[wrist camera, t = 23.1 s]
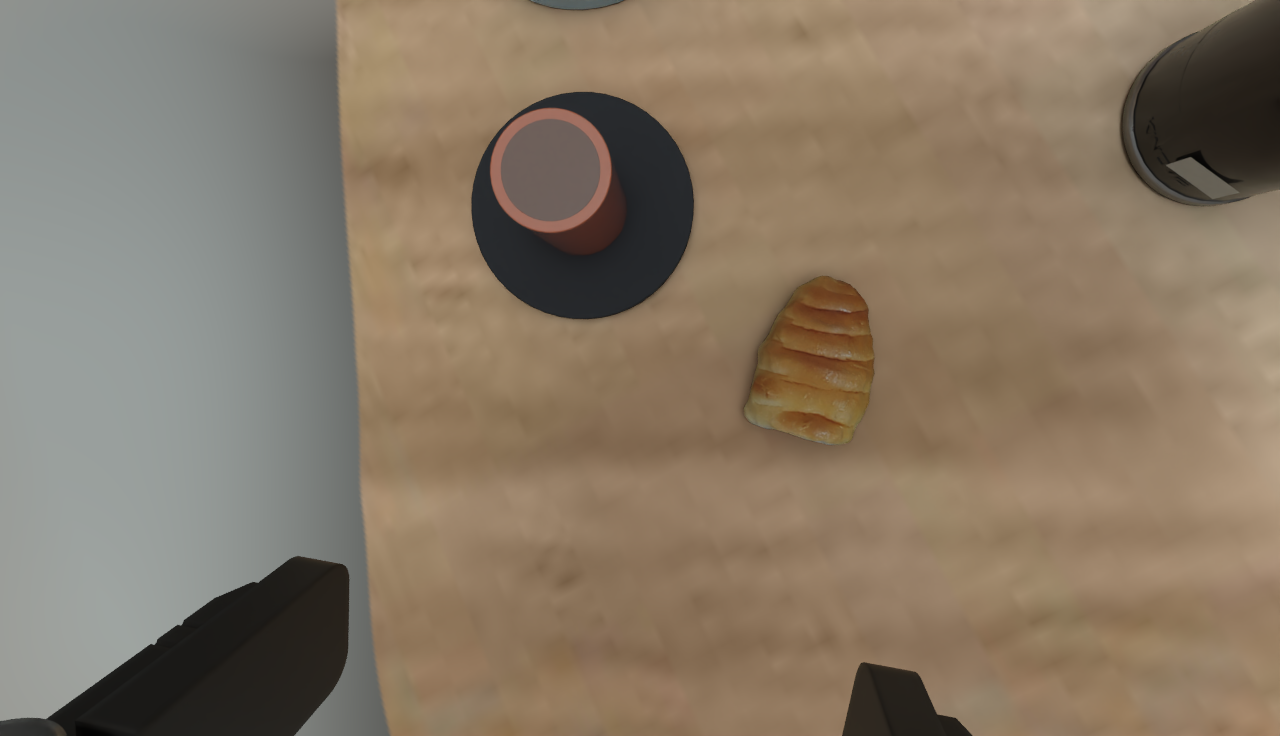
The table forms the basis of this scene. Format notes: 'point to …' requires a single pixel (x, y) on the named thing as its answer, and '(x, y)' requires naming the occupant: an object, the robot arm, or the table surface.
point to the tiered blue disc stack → (576, 3)
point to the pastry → (815, 365)
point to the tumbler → (559, 181)
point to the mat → (640, 247)
